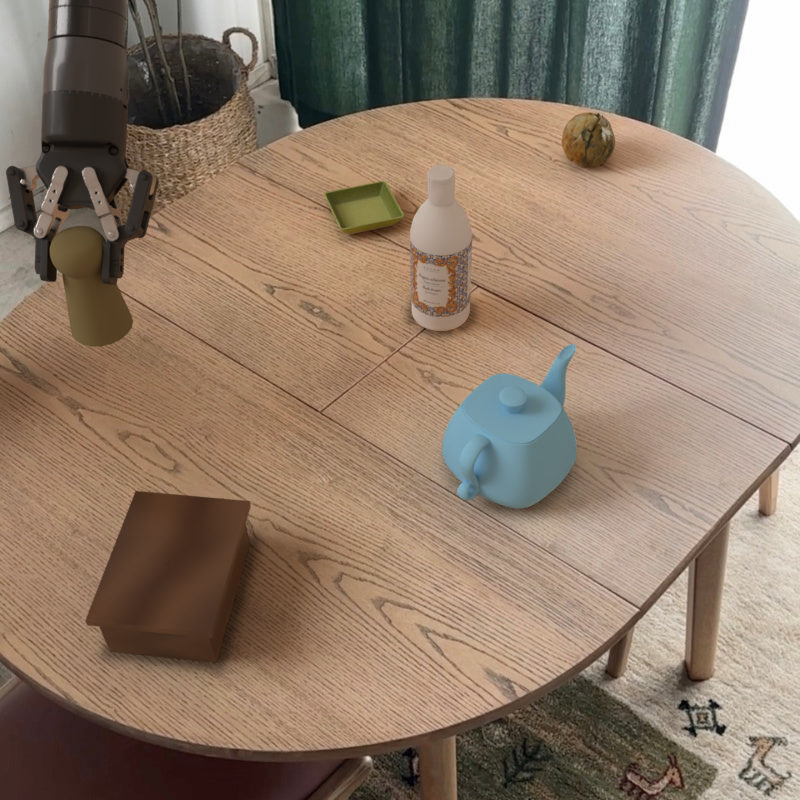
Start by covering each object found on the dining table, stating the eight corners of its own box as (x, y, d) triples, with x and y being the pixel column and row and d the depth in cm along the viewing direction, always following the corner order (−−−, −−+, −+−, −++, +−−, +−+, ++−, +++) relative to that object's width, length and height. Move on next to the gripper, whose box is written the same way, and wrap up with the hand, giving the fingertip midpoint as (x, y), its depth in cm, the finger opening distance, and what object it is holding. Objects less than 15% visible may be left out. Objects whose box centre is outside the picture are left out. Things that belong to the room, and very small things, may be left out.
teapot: (626, 367, 104) (516, 476, 95) (613, 439, 112) (510, 546, 103) (523, 313, 110) (410, 410, 101) (517, 385, 118) (412, 481, 109)
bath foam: (403, 325, 125) (398, 183, 111) (423, 289, 129) (421, 148, 115) (458, 339, 123) (461, 196, 109) (477, 301, 128) (482, 160, 113)
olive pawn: (132, 301, 107) (108, 212, 99) (133, 341, 103) (107, 252, 95) (71, 309, 106) (42, 220, 98) (70, 350, 102) (38, 261, 94)
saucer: (386, 192, 144) (385, 179, 142) (406, 229, 138) (405, 216, 136) (324, 205, 142) (322, 192, 140) (341, 243, 136) (340, 230, 135)
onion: (622, 150, 149) (629, 100, 143) (605, 181, 144) (612, 130, 138) (570, 139, 151) (575, 89, 146) (552, 169, 146) (557, 118, 141)
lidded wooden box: (100, 656, 96) (85, 620, 91) (147, 528, 105) (135, 490, 101) (221, 669, 94) (211, 633, 90) (257, 538, 104) (249, 500, 100)
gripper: (-9, 84, 94) (-16, 276, 95) (149, 88, 93) (142, 282, 94) (27, 105, 102) (21, 283, 102) (174, 109, 100) (167, 289, 101)
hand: (79, 281), depth 98 cm, fingers closed on olive pawn, 5 cm apart
